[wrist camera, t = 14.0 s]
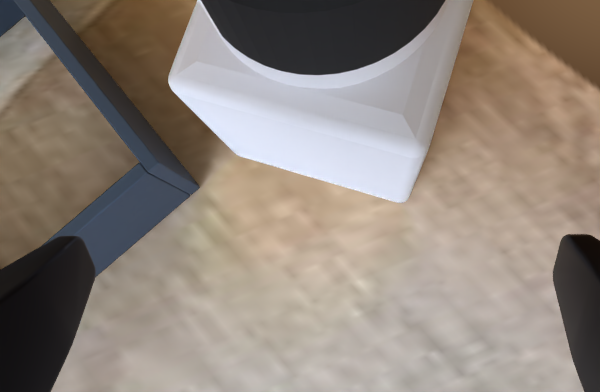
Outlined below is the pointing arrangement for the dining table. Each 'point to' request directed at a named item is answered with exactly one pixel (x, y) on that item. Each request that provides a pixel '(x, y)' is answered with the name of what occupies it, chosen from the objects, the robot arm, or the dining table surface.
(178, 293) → the dining table surface
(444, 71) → the medicine bottle
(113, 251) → the caddy
